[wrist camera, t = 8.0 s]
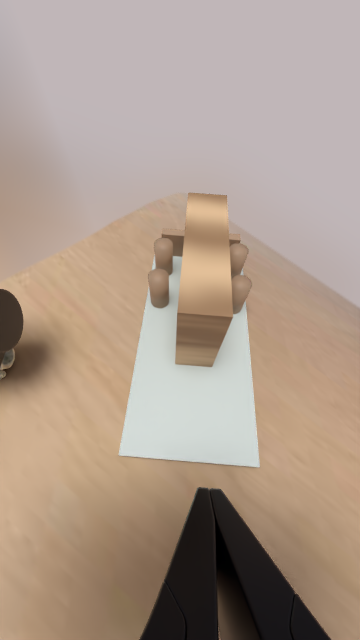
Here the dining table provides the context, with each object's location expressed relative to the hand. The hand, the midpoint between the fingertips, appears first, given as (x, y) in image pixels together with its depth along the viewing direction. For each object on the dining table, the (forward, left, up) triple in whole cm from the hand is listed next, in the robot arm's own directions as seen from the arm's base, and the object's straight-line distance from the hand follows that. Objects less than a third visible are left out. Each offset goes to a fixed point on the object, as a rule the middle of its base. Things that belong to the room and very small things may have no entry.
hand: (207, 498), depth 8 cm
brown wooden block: (+15, -5, -11) cm, 19 cm away
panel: (+12, -4, -12) cm, 17 cm away
